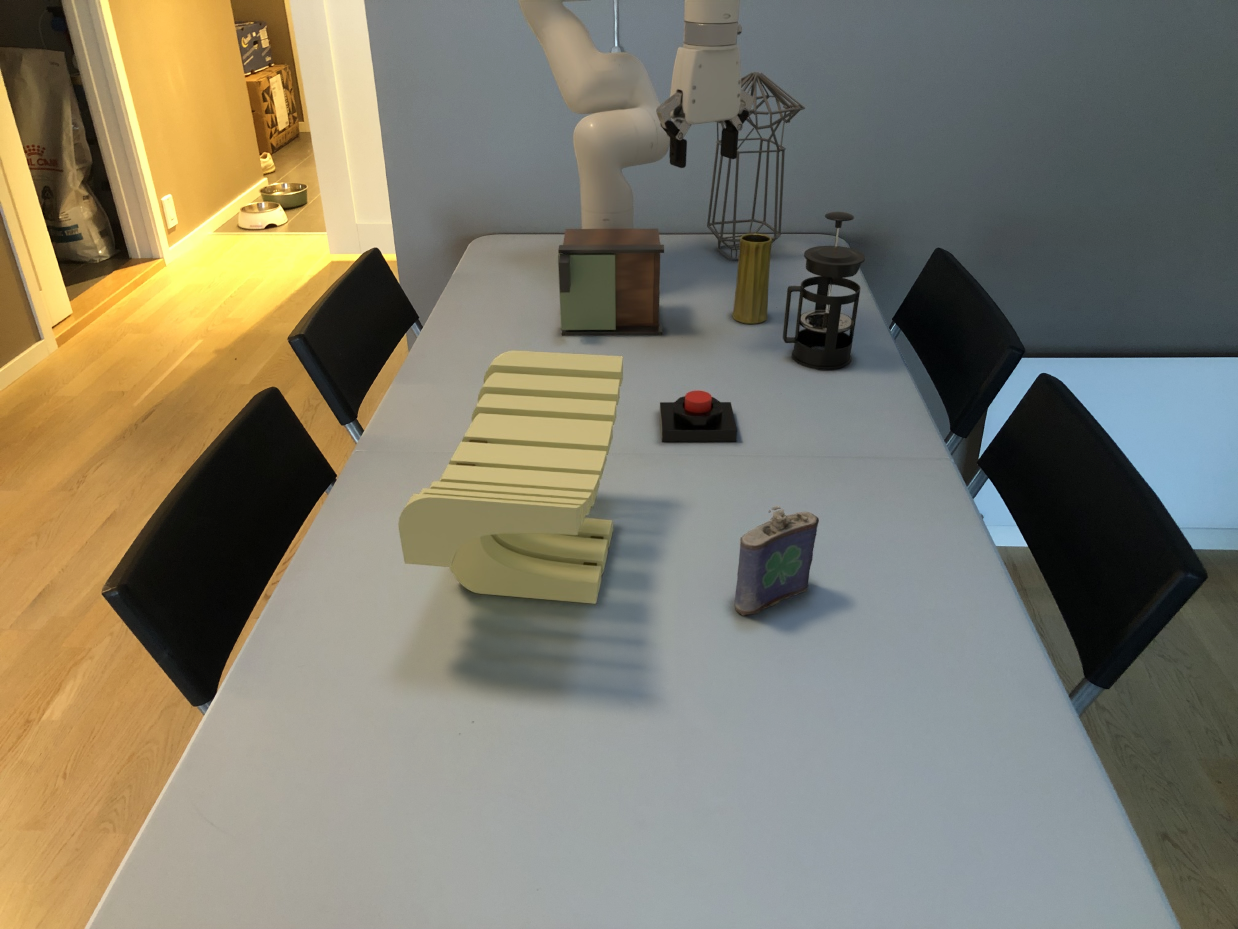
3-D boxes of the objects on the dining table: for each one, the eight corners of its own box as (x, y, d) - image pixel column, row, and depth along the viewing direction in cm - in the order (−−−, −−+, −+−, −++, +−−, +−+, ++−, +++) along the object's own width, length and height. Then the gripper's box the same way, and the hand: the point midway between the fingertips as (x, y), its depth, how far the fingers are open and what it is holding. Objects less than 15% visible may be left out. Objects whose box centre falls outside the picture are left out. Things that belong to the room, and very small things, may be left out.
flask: (743, 619, 86) (752, 533, 81) (726, 603, 89) (732, 517, 83) (814, 589, 90) (826, 504, 85) (795, 573, 93) (806, 490, 87)
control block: (661, 442, 116) (662, 419, 114) (659, 413, 123) (660, 391, 121) (736, 442, 116) (738, 419, 114) (730, 413, 123) (731, 391, 121)
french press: (847, 345, 142) (868, 204, 130) (862, 370, 134) (885, 222, 122) (776, 345, 142) (790, 205, 130) (786, 370, 134) (802, 223, 122)
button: (685, 414, 116) (685, 402, 115) (683, 401, 119) (684, 390, 118) (712, 414, 116) (712, 402, 115) (709, 401, 119) (710, 390, 118)
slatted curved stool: (497, 479, 109) (485, 348, 99) (623, 488, 107) (622, 356, 97) (419, 647, 83) (392, 494, 74) (582, 663, 82) (576, 508, 72)
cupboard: (561, 335, 146) (558, 249, 138) (565, 307, 157) (562, 226, 149) (662, 335, 146) (664, 249, 138) (659, 307, 157) (661, 225, 149)
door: (559, 338, 143) (556, 262, 136) (561, 328, 147) (558, 253, 140) (615, 338, 143) (614, 262, 136) (615, 328, 147) (615, 253, 140)
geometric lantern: (695, 244, 187) (703, 68, 169) (763, 238, 190) (778, 65, 172) (719, 268, 174) (731, 80, 156) (792, 261, 177) (812, 76, 159)
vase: (769, 324, 150) (776, 243, 142) (733, 324, 150) (739, 243, 142) (764, 311, 155) (771, 232, 147) (730, 310, 155) (735, 232, 148)
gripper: (740, 29, 128) (731, 149, 137) (644, 36, 120) (642, 164, 129) (774, 34, 122) (763, 159, 132) (677, 43, 114) (672, 175, 124)
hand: (703, 161), depth 130 cm, fingers open, 9 cm apart
